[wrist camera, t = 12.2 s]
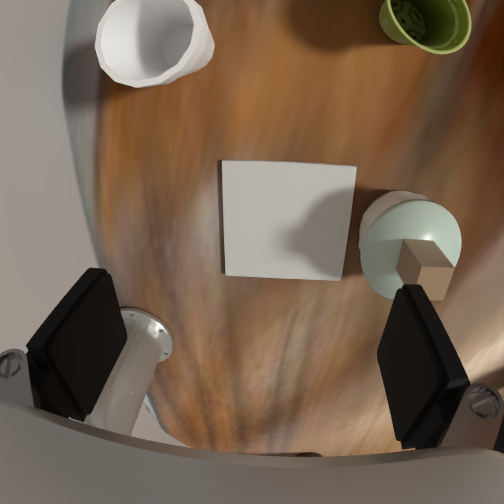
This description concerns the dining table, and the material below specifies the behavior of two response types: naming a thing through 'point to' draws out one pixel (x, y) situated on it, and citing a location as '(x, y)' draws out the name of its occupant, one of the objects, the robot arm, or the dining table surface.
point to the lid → (411, 248)
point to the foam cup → (153, 41)
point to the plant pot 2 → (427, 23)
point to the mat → (286, 218)
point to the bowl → (383, 208)
